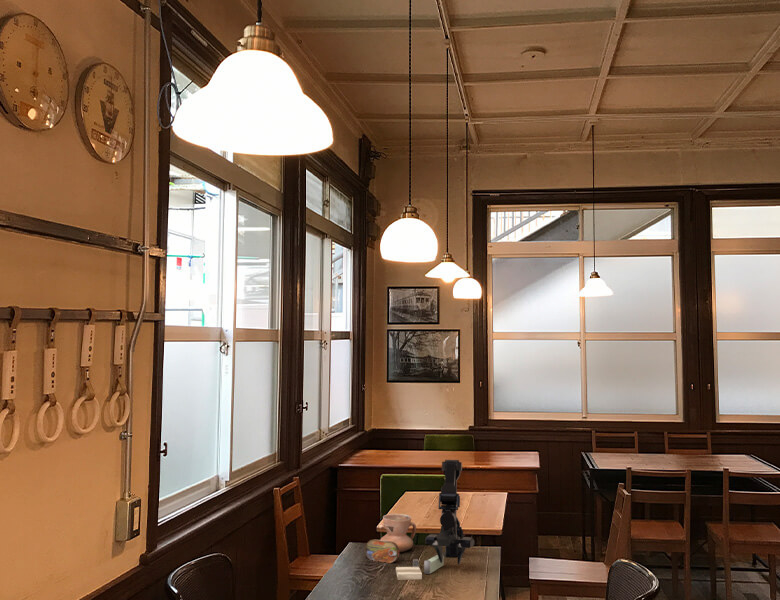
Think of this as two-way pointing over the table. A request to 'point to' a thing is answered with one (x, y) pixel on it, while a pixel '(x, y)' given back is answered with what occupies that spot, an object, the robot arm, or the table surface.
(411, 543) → the ceramic jug
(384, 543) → the tin
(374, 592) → the table surface
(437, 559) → the stool leg
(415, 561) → the leg stop
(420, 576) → the stool seat
